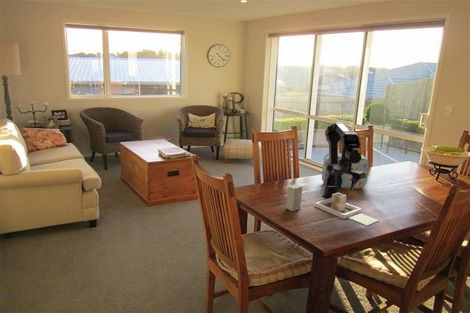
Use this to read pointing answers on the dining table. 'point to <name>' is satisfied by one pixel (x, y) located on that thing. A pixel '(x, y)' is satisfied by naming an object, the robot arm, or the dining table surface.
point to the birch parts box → (338, 202)
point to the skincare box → (294, 197)
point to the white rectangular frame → (355, 211)
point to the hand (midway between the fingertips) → (343, 187)
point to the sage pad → (363, 219)
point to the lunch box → (346, 178)
